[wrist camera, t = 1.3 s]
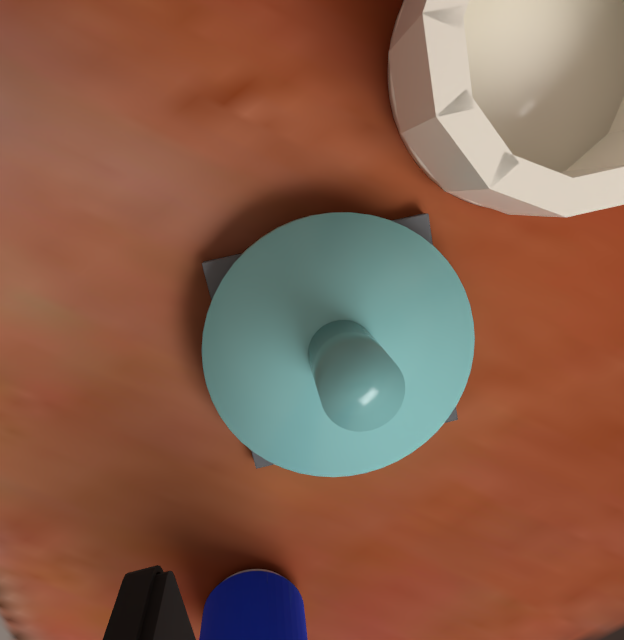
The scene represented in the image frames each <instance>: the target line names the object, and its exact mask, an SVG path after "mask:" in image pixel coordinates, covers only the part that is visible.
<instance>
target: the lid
mask: <svg viewBox="0 0 624 640" xmlns="http://www.w3.org/2000/svg"><path fill="white" fill-rule="evenodd" d="M474 341H475V338H474V322H473V317H472V312H471V307H470V304H469V301H468V298H467V295H466V292H465V289H464V287H463V285H462V283H461V281H460V279H459V278H458V276H457V274H456V272H455V271H454V270H453V268H452V267H451V265H450V264H449V262H448V261H447V260H446V259H445V258H444V256H443V255H442V254H441V253H440V252H439V251H438V250H437V249H436V248H435V247H434V246H433V245H432V244H430V243H429V242H428V241H427V240H425V239H424V238H423V237H422V236H420V235H418V234H417V233H415V232H413V231H412V230H410V229H408V228H407V227H405V226H402V225H400V224H398V223H395V222H393V221H391V220H388V219H384V218H381V217H377V216H373V215H368V214H360V213H352V212H328V213H322V214H315V215H310V216H306V217H303V218H299V219H296V220H293V221H291V222H288V223H286V224H284V225H282V226H279V227H277V228H275V229H274V230H272V231H270V232H269V233H267V234H265V235H264V236H262V237H261V238H259V239H258V240H257V241H256V242H255V243H253V244H252V245H251V246H250V247H248V248H247V249H246V250H245V251H244V252H243V253H242V254H241V255H240V257H239V258H238V259H237V260H236V261H235V262H234V263H233V265H232V266H231V267H230V269H229V270H228V272H227V273H226V274H225V276H224V277H223V279H222V281H221V283H220V285H219V287H218V289H217V290H216V292H215V294H214V296H213V299H212V302H211V304H210V307H209V310H208V313H207V316H206V321H205V325H204V330H203V339H202V362H203V371H204V376H205V381H206V385H207V388H208V391H209V393H210V396H211V399H212V402H213V404H214V405H215V407H216V409H217V411H218V413H219V415H220V417H221V418H222V419H223V421H224V422H225V424H226V425H227V427H228V428H229V429H230V431H231V432H232V433H233V434H234V435H235V436H236V437H237V438H238V439H239V440H240V441H241V442H242V443H243V444H244V445H246V446H247V447H248V448H249V449H250V450H252V451H253V452H254V453H256V454H257V455H259V456H261V457H262V458H264V459H265V460H267V461H269V462H271V463H273V464H275V465H278V466H280V467H282V468H285V469H288V470H291V471H294V472H298V473H302V474H307V475H313V476H324V477H340V476H352V475H357V474H362V473H367V472H370V471H374V470H377V469H380V468H383V467H385V466H387V465H390V464H392V463H394V462H397V461H398V460H400V459H402V458H404V457H405V456H407V455H409V454H410V453H412V452H413V451H415V450H416V449H417V448H419V447H420V446H421V445H423V444H424V443H425V442H426V441H427V440H428V439H430V438H431V437H432V436H433V435H434V434H435V433H436V432H437V431H438V430H439V428H440V427H441V426H442V425H443V424H444V422H445V421H446V420H447V419H448V418H449V416H450V414H451V413H452V411H453V410H454V408H455V407H456V405H457V403H458V401H459V399H460V397H461V395H462V393H463V391H464V389H465V386H466V383H467V380H468V377H469V374H470V370H471V366H472V361H473V355H474Z"/></svg>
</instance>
